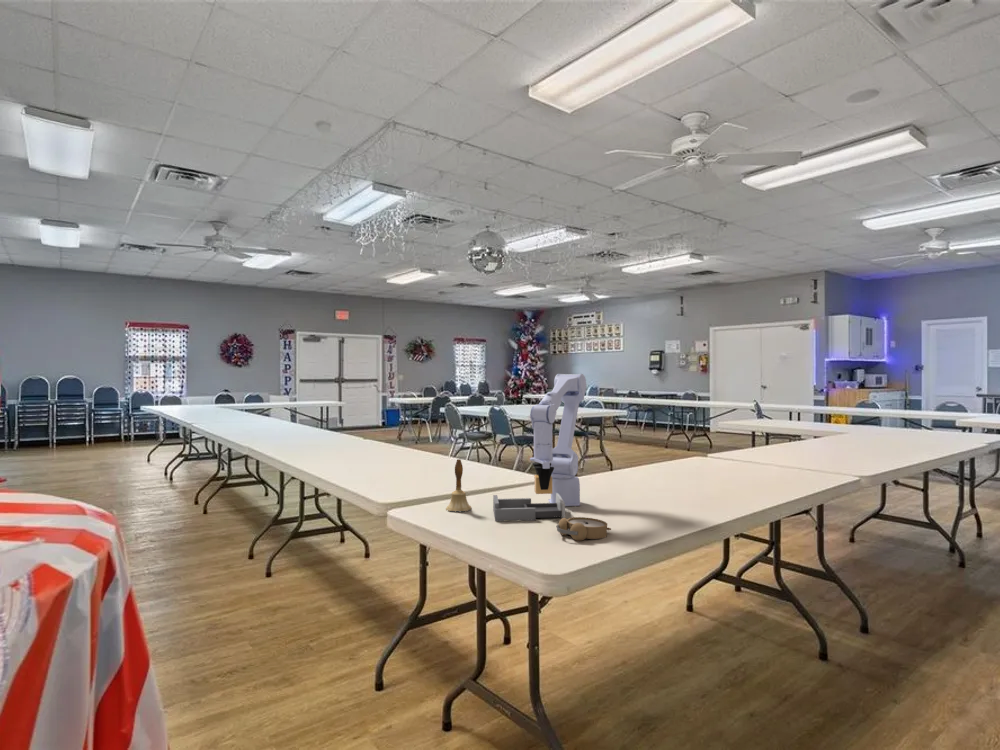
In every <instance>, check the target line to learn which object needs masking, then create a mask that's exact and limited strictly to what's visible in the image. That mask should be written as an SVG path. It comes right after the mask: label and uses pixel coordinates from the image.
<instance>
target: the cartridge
mask: <svg viewBox="0 0 1000 750" xmlns="http://www.w3.org/2000/svg"><path fill="white" fill-rule="evenodd" d="M533 480H534V482H533V483H534V493H535V494H536V495H539V494H540V495H547V494H548V495H549V494H550V495H551V494H552V476H551V477H550V482H549V487H548V490H541V488H540V482H539V477H538V475H537V474H534V479H533Z"/></svg>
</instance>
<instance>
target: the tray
mask: <svg viewBox="0 0 1000 750" xmlns="http://www.w3.org/2000/svg"><path fill="white" fill-rule="evenodd" d="M523 508H535V519H536V518H537V519H539V518H541V519H543V518H547V519H548V518H561V519H562V518H566V506H565V502H564V501H563V499H562V498H561V497H560V495H559V494H558V493H556V503H549V502H542V503H541V502H540V503H538V502H534V503H533V502H531V503H528V504H523Z"/></svg>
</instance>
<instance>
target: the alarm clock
mask: <svg viewBox="0 0 1000 750" xmlns="http://www.w3.org/2000/svg"><path fill="white" fill-rule="evenodd" d="M611 530H612V528H611V527H608V523H607V522H606V521H604V520H601V519H598V518H592V517H581V516H578V517H576V516H575V517H574V516H573V517H569V518H567V517H565V518H562V517H561V519H559V522H558V524H557V525H556V531H557V532H558V533H559V534H560V535H562V536H565V537H566V536H567V535H569V536H571V538H572V539H573V540H574V541H577V542H582V541H584V540H585V539H590V540H598V539H599V540H600V539H605V538H606V537H607V535H608V531H611Z"/></svg>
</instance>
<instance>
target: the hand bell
mask: <svg viewBox="0 0 1000 750" xmlns="http://www.w3.org/2000/svg"><path fill="white" fill-rule="evenodd" d="M463 469H464V468H463V463H462V459H460V458H459V459H456V462H455V464H454V475H455V478H456V479H455V483H456V484H455V490H454V491H452V492H451V498H450V500H449V501H450V502H449V503H448V505H447V506H446V508H445V510H446V511H447V510H448V511H447V512H450V511H455V512H454V513H457V512H456V511H465V512H469V511H471V510H473V508H472V506H471V504H469V502H468V500H467V493H466V492H465V491H464V490H462V477H463V471H464V470H463ZM468 510H469V511H468Z"/></svg>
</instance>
